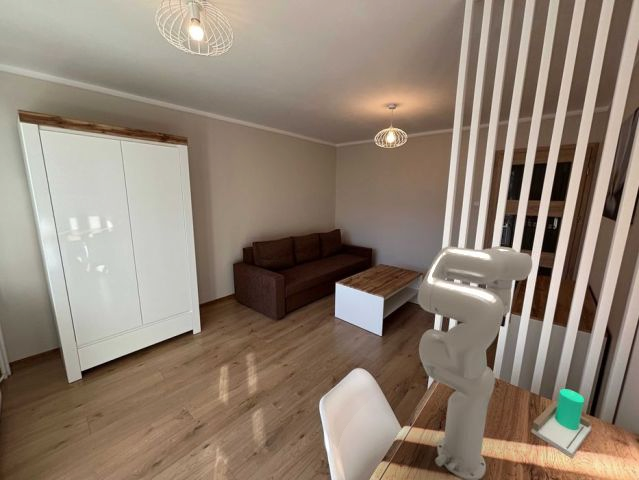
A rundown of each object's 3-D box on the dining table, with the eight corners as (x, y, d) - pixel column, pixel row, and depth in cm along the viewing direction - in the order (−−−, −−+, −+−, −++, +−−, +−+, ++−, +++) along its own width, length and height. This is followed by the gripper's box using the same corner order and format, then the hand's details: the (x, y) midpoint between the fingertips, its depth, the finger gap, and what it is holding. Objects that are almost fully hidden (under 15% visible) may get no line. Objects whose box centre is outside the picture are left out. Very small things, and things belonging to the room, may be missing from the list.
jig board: (571, 457, 79) (573, 446, 78) (531, 432, 87) (533, 421, 87) (590, 430, 88) (592, 420, 88) (552, 410, 97) (554, 400, 96)
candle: (568, 416, 92) (574, 385, 90) (583, 431, 86) (590, 398, 84) (550, 414, 93) (555, 383, 91) (563, 429, 87) (570, 396, 85)
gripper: (497, 290, 84) (491, 339, 87) (522, 281, 93) (515, 326, 96) (474, 283, 90) (468, 329, 93) (499, 276, 99) (493, 318, 102)
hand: (492, 328), depth 94 cm, fingers open, 9 cm apart
